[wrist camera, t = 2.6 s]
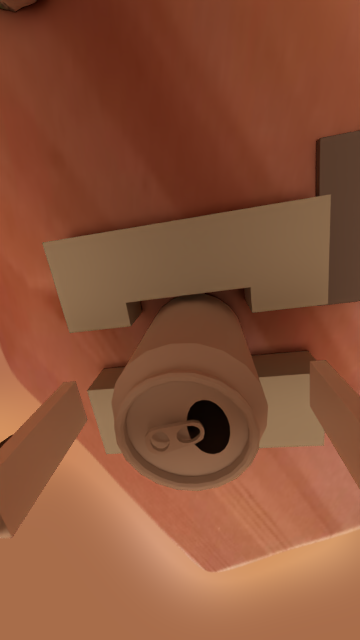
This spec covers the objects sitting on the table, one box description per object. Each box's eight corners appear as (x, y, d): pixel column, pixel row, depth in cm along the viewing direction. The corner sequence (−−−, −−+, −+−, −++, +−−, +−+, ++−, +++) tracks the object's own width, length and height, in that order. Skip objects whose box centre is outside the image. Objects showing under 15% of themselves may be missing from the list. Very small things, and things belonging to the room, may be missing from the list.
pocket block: (68, 240, 21) (42, 242, 17) (308, 200, 18) (330, 194, 15) (119, 425, 26) (106, 453, 23) (307, 415, 24) (324, 445, 20)
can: (246, 366, 23) (285, 501, 11) (163, 377, 24) (124, 510, 13) (234, 282, 20) (267, 347, 9) (143, 299, 22) (73, 375, 10)
